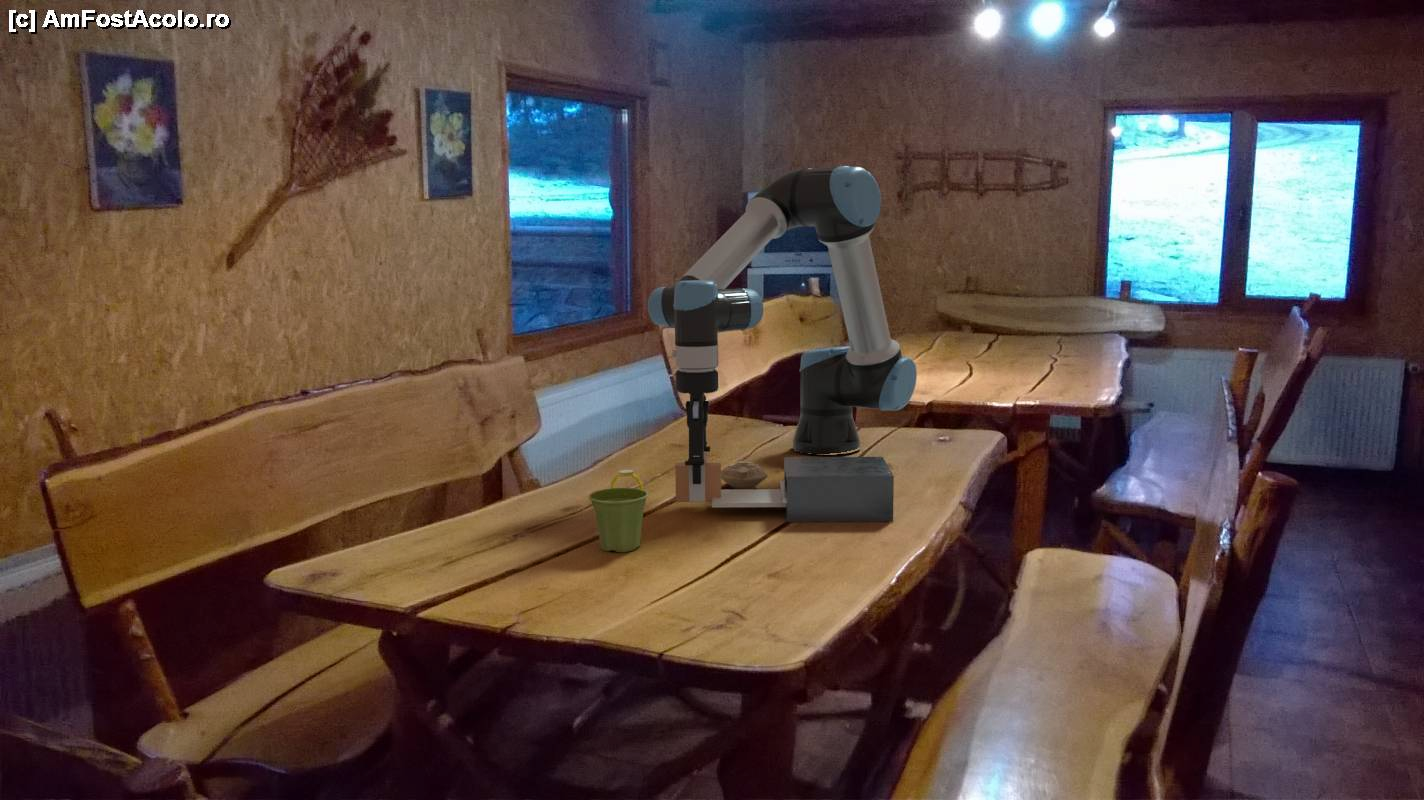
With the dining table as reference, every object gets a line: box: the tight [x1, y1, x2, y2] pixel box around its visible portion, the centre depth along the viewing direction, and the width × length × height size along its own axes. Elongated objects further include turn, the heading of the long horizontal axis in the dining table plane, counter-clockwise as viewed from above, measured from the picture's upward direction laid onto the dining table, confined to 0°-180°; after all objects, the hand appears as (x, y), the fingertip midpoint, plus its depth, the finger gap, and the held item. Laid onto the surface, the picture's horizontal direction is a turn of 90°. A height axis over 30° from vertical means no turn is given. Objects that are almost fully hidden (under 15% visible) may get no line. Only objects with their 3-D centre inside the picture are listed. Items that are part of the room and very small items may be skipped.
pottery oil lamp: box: [721, 460, 768, 490], centre depth 219 cm, size 9×12×7 cm
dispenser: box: [779, 456, 895, 523], centre depth 200 cm, size 16×19×8 cm
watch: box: [610, 469, 644, 490], centre depth 208 cm, size 6×3×6 cm, turn 76°
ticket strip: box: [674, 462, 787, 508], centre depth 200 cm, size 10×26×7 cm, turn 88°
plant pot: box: [588, 487, 649, 553], centre depth 178 cm, size 9×9×9 cm
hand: (698, 494), depth 200 cm, fingers open, 9 cm apart
